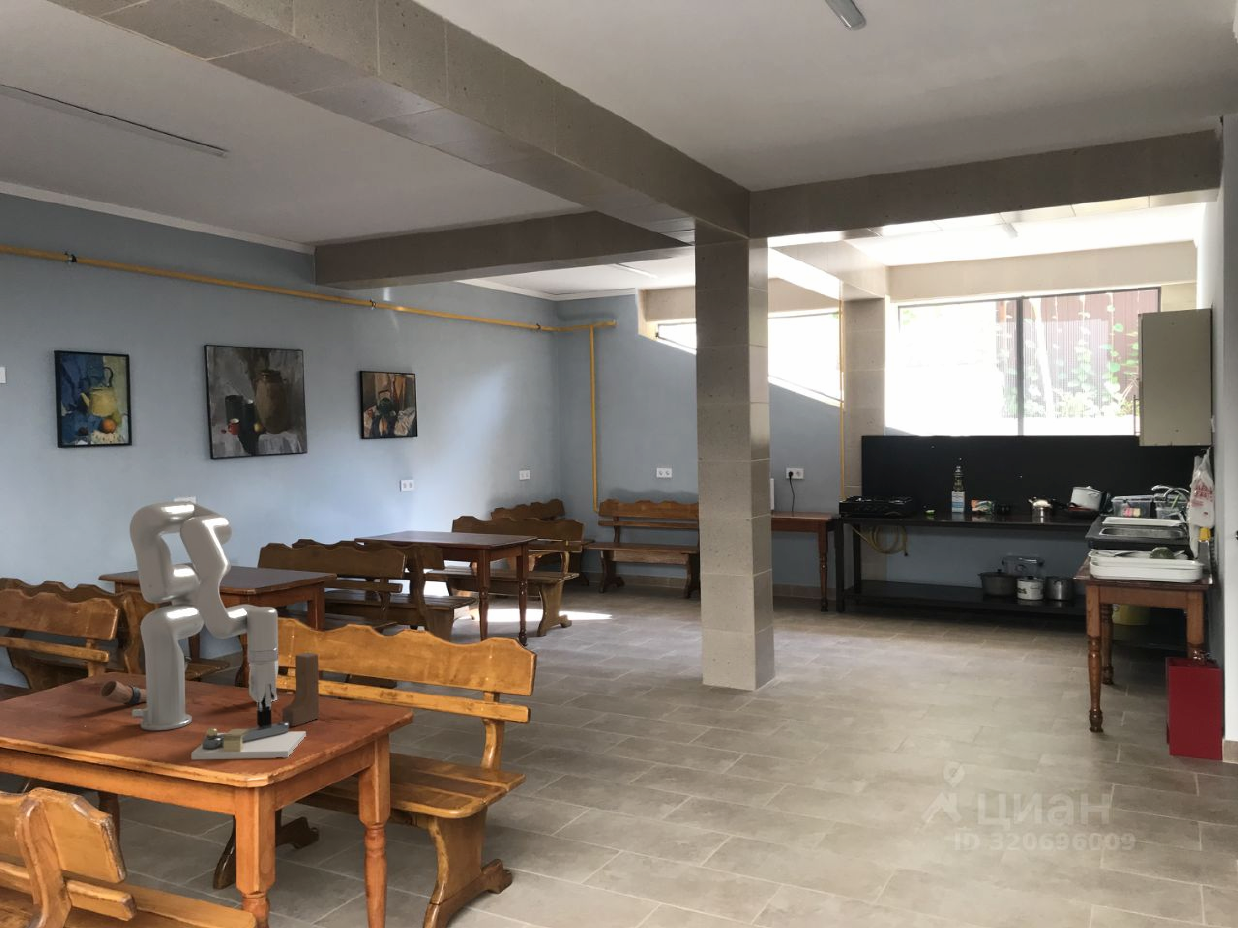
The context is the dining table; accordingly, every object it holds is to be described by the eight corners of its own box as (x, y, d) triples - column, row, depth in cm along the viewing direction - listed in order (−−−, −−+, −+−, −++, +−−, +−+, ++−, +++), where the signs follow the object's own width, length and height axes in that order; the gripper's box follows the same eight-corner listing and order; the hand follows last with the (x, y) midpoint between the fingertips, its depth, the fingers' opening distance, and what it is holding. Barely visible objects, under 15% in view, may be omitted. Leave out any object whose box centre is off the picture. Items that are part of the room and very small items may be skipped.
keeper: (201, 752, 240) (201, 733, 240) (210, 744, 246) (210, 726, 246) (240, 751, 240) (240, 732, 240) (248, 743, 246) (248, 725, 246)
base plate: (191, 759, 239) (191, 753, 239) (215, 738, 255) (215, 732, 255) (288, 757, 241) (287, 751, 240) (305, 736, 256) (305, 731, 256)
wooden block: (292, 727, 265) (291, 660, 265) (281, 724, 268) (280, 658, 267) (319, 718, 273) (318, 653, 272) (309, 716, 275) (308, 652, 275)
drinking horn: (96, 712, 281) (95, 677, 280) (184, 687, 308) (183, 655, 307) (110, 714, 278) (109, 679, 278) (197, 689, 305) (196, 657, 305)
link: (206, 750, 240) (206, 742, 240) (199, 746, 244) (199, 738, 244) (292, 731, 255) (292, 723, 255) (284, 727, 258) (284, 720, 258)
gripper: (241, 651, 263) (242, 720, 263) (254, 662, 250) (256, 734, 251) (270, 648, 267) (272, 715, 267) (285, 658, 254) (286, 729, 255)
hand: (264, 724), depth 259 cm, fingers closed
